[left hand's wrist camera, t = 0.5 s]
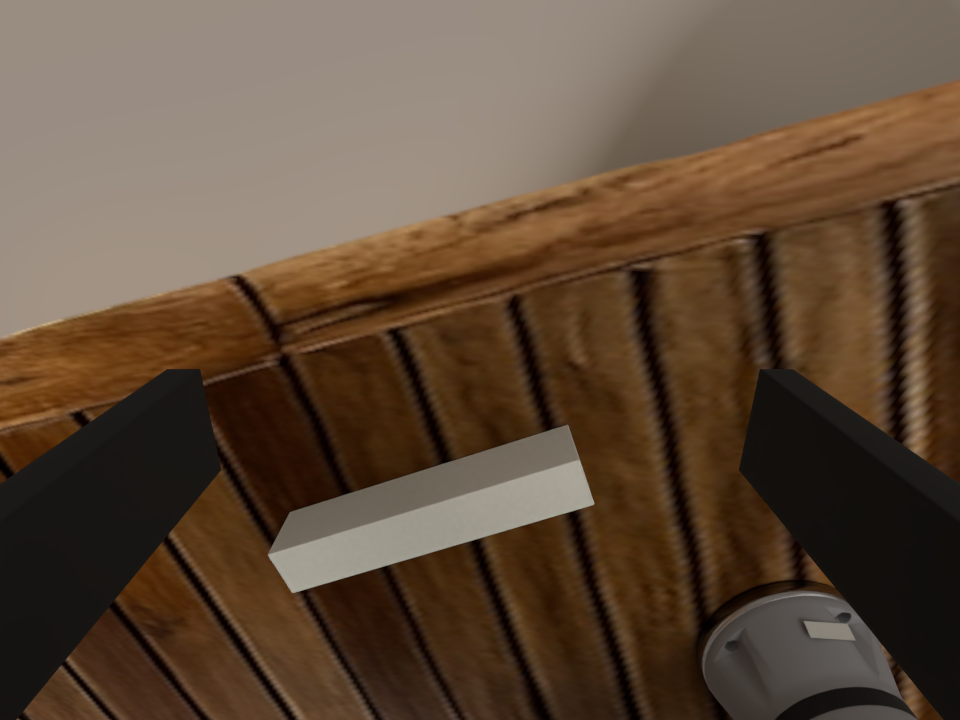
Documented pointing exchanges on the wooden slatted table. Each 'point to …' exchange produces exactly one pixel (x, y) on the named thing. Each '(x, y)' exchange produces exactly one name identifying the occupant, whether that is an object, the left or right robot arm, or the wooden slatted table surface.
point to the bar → (432, 510)
